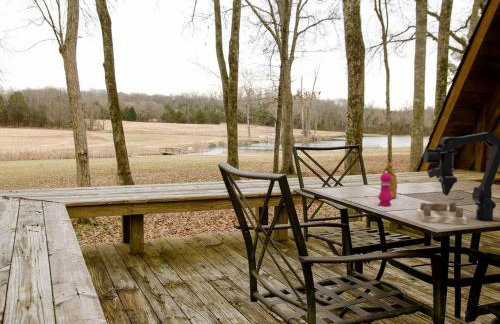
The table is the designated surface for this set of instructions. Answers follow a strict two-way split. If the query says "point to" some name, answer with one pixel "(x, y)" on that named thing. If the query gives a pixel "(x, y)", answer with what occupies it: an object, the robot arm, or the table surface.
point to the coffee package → (393, 180)
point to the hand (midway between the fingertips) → (445, 194)
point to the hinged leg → (434, 206)
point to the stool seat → (442, 215)
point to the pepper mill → (385, 190)
